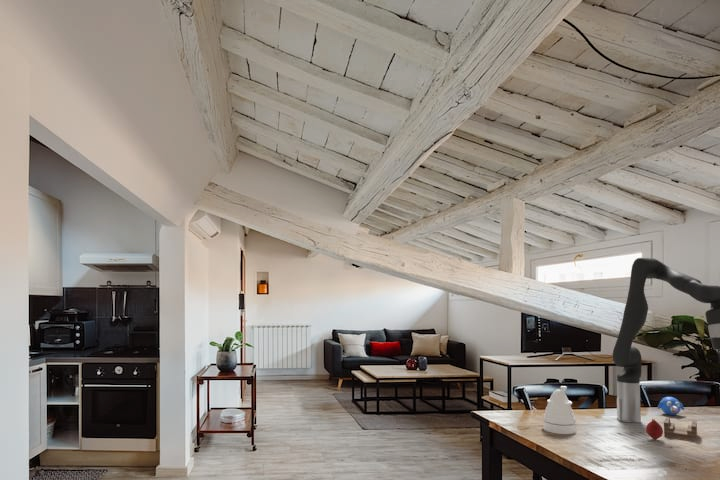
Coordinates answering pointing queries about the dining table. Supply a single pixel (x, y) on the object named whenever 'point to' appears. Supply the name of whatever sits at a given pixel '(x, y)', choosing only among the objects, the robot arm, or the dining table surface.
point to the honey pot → (559, 414)
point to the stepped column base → (680, 431)
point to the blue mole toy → (670, 405)
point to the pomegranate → (654, 430)
